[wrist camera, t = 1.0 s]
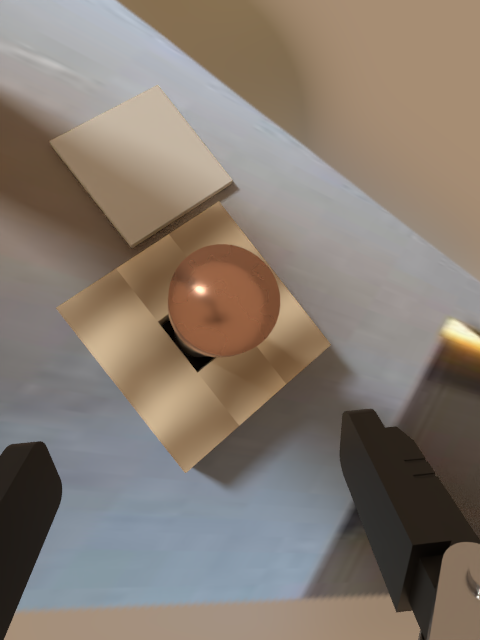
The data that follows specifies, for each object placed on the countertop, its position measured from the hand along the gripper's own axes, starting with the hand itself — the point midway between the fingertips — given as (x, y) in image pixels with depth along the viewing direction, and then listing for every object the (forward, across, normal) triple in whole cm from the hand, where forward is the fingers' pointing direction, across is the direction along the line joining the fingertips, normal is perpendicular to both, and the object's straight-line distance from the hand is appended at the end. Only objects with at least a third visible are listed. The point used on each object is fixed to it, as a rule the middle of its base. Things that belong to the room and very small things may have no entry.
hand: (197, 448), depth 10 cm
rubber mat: (+31, +6, -5) cm, 32 cm away
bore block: (+22, +2, +9) cm, 24 cm away
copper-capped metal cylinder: (+22, +2, +9) cm, 24 cm away
